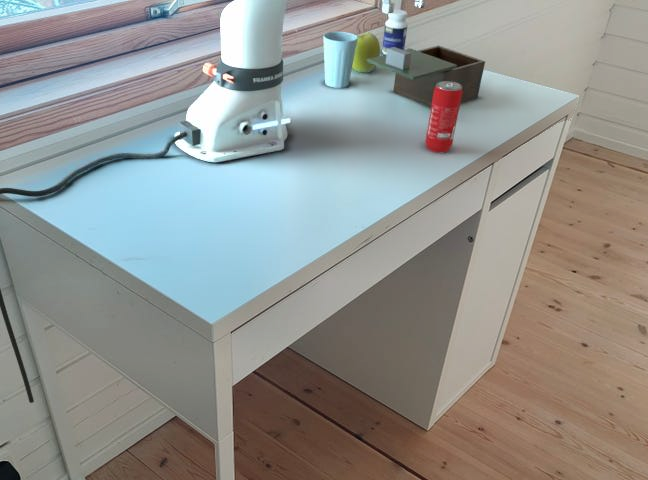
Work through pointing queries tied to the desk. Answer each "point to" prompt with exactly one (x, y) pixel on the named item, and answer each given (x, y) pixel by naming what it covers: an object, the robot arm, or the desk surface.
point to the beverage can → (443, 116)
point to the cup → (339, 57)
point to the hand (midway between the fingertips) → (403, 10)
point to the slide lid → (411, 63)
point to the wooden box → (443, 77)
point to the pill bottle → (395, 31)
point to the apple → (365, 52)
